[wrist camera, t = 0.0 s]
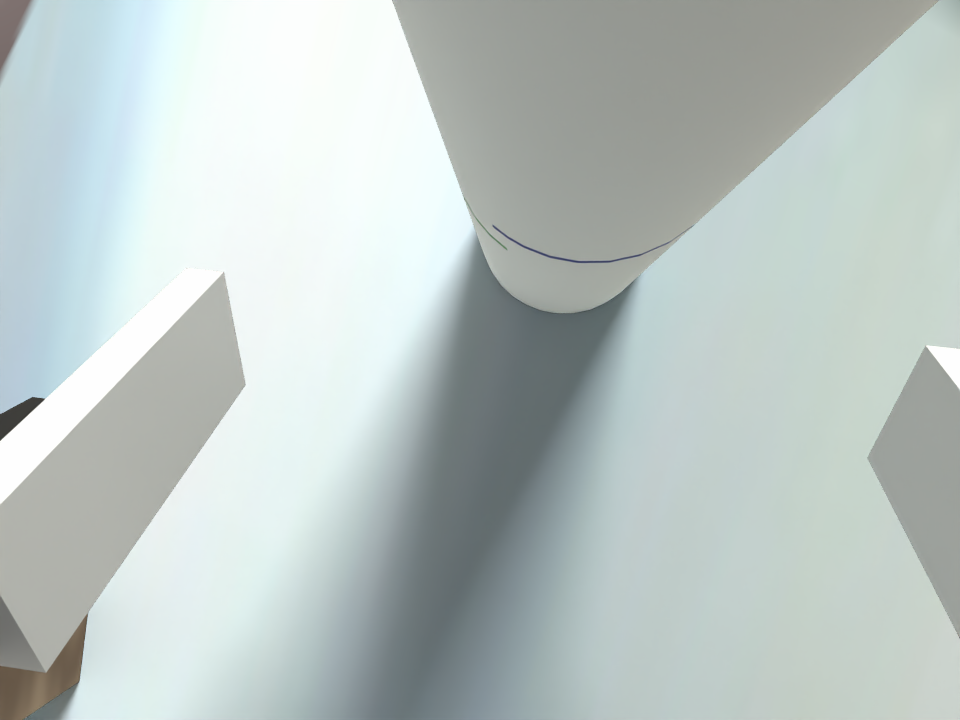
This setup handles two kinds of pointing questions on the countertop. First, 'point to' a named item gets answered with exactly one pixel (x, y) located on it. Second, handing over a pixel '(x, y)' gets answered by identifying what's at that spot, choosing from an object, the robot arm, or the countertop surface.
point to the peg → (41, 680)
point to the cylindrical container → (623, 118)
